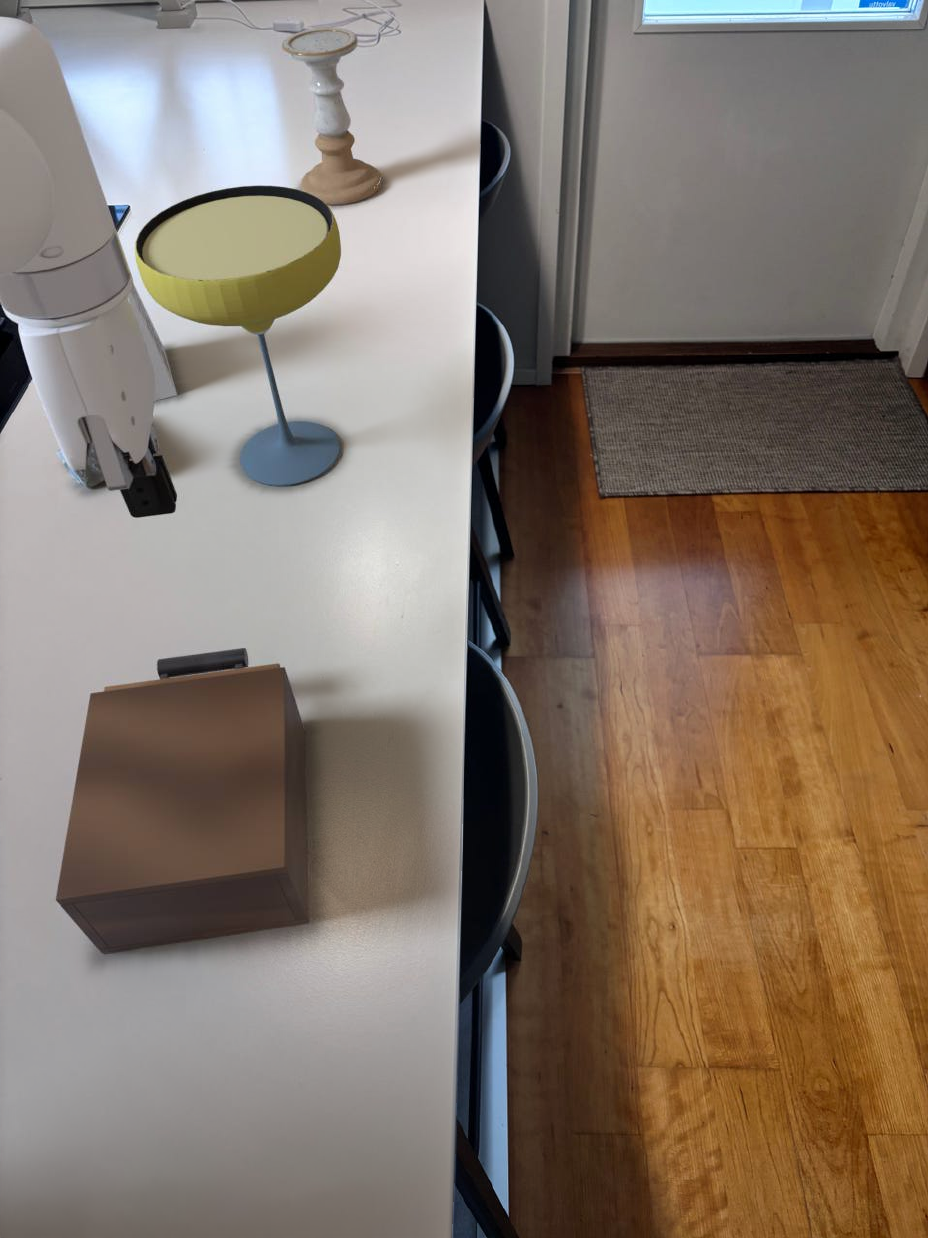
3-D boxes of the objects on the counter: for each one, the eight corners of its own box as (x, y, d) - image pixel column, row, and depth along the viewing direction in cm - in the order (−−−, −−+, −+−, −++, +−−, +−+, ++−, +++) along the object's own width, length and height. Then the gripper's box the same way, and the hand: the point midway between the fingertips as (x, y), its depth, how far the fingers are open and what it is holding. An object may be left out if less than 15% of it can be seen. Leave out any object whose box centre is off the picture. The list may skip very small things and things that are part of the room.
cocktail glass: (366, 393, 109) (330, 173, 90) (381, 495, 97) (343, 265, 78) (208, 416, 108) (139, 197, 89) (203, 521, 96) (123, 295, 77)
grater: (164, 349, 118) (110, 187, 103) (177, 395, 111) (121, 229, 96) (78, 369, 116) (11, 208, 101) (86, 417, 109) (15, 252, 94)
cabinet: (127, 756, 77) (90, 692, 71) (305, 731, 78) (284, 666, 72) (101, 954, 66) (55, 900, 60) (309, 923, 67) (285, 867, 61)
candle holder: (332, 213, 139) (308, 62, 124) (286, 188, 146) (257, 42, 131) (398, 185, 144) (382, 37, 129) (350, 162, 151) (329, 18, 136)
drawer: (137, 698, 80) (110, 646, 75) (295, 676, 81) (279, 624, 76) (109, 916, 67) (74, 872, 62) (298, 889, 68) (278, 842, 63)
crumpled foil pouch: (70, 434, 108) (22, 421, 96) (124, 404, 107) (82, 387, 96) (113, 508, 108) (70, 504, 96) (166, 478, 108) (130, 471, 96)
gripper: (18, 218, 60) (115, 450, 73) (-35, 349, 50) (89, 589, 63) (138, 205, 60) (212, 438, 74) (109, 332, 50) (201, 574, 64)
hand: (155, 507), depth 69 cm, fingers closed
